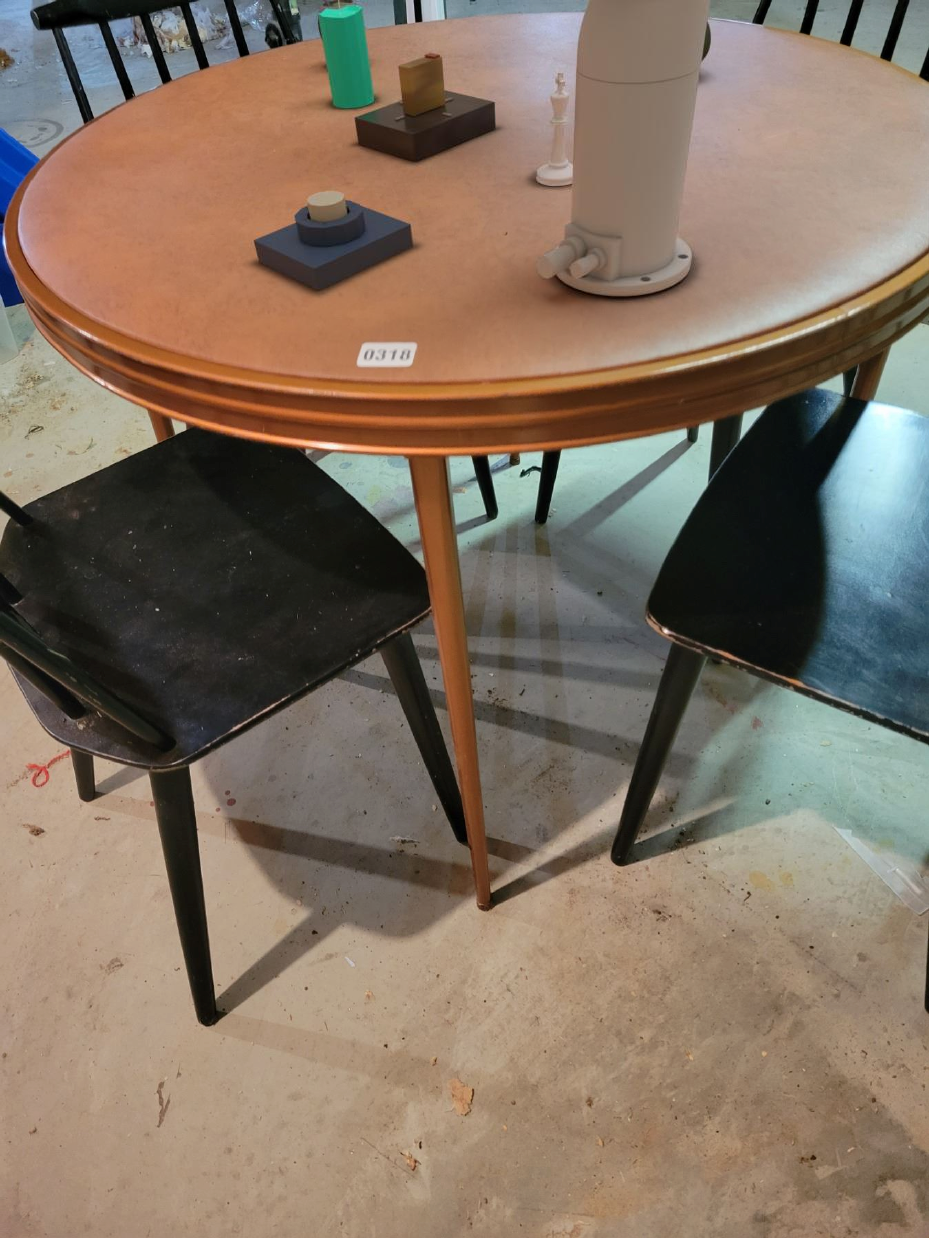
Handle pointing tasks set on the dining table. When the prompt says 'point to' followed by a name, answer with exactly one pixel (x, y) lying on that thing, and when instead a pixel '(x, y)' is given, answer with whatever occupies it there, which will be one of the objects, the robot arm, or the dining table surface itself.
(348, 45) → the candle
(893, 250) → the dining table surface
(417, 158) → the plate
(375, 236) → the button base
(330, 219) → the bell button
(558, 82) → the chess piece
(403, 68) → the lock knob
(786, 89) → the dining table surface
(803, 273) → the dining table surface
